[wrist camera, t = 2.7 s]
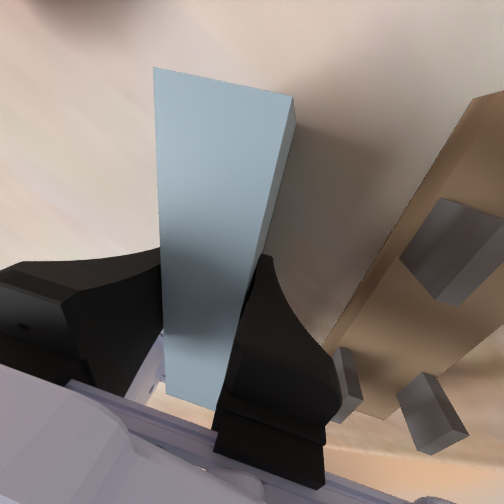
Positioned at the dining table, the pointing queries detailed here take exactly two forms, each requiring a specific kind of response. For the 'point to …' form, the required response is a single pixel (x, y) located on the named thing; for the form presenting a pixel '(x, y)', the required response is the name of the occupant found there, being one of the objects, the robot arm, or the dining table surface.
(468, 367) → the dining table surface
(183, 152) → the pale blue rectangular block
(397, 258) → the rail
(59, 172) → the dining table surface
